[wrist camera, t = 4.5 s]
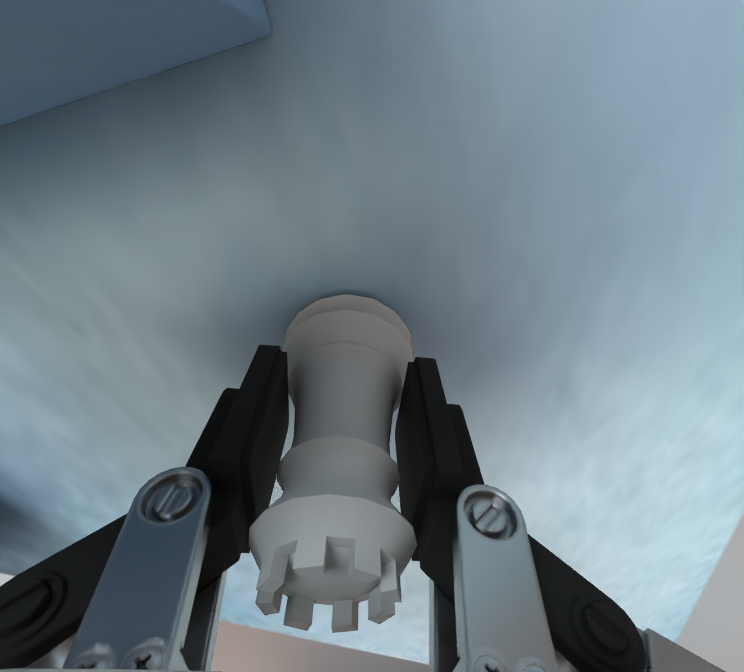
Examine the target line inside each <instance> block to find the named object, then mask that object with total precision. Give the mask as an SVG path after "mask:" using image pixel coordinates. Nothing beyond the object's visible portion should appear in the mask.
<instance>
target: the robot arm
mask: <svg viewBox="0 0 744 672" xmlns="http://www.w3.org/2000/svg"><path fill="white" fill-rule="evenodd" d="M288 425H289V400H288V363H287V352H283V351H281V349H280V346H270V345H259V347H258V349H257V351H256V353H255V356H254V358H253V360H252V362H251V364H250V367H249V369H248V371H247V373H246V375H245V378H244V380H243V382H242V384H241V387H240V389H234V388H226V389H225V390H224V391H223V393H222V395H221V397H220V398H219V400H218V402H217V404H216V406H215V408H214V410H213V412H212V414H211V416H210V418H209V420H208V422H207V424H206V426H205V428H204V430H203V432H202V434H201V436H200V438H199V440H198V442H197V444H196V446H195V448H194V450H193V452H192V454H191V456H190V458H189V460H188V462H187V464H186V466H185V467H178V468H172V469H169V470H167V471H164V472H162V473H159V474H158V475H156V476H155V477H153V478H152V479H150V480H149V481H148V482H147V483H146V484H145V485H144V486H143V487H142V488H141V489H140V490H139V492H138V493H137V495H136V497H135V498H134V500H133V503H132V505H131V507H130V510H129V512H128V513H127V514H126V515H124V516H122V517H120V518H118V519H117V520H115V521H113V522H111V523H110V524H108V525H106V526H104V527H102V528H101V529H99V530H97V531H95V532H93V533H92V534H90V535H88V536H86V537H85V538H83V539H81V540H79V541H77V542H76V543H74V544H72V545H70V546H68V547H67V548H65V549H63V550H61V551H60V552H58V553H56V554H54V555H52V556H51V557H49V558H47V559H45V560H44V561H42V562H40V563H38V564H36V565H35V566H33V567H31V568H29V569H27V570H26V571H24V572H22V573H20V574H19V575H17V576H15V577H14V578H12V579H11V580H10V581H8V582H6V583H5V584H3V585H2V586H1V587H0V672H217V671H211V665H212V659H213V653H214V647H215V641H216V635H217V629H218V623H219V617H220V611H221V605H222V599H223V593H224V587H225V581H226V575H227V569H228V568H229V567H231V566H232V565H233V564H235V563H236V562H237V561H239V558H240V555H241V553H249V552H250V548H249V528H250V527H251V525H252V524H253V523H254V522H255V521H256V520H257V518H258V517H259V516H260V515H261V514H262V513H263V512H264V511H265V510H266V509H267V508H268V507H269V504H270V500H271V496H272V492H273V487H274V483H275V479H276V475H277V471H278V463H279V462H280V459H281V455H282V451H283V447H284V443H285V439H286V435H287V431H288ZM395 441H396V454H397V467H398V472H399V476H400V481H399V494H400V508H401V514H402V516H403V517H404V518H405V519H406V520H407V521H408V522H409V523H410V524H411V525H412V527H413V530H414V534H415V538H416V542H417V547H416V549H415V551H414V553H413V555H412V561H420V569H421V570H422V571H423V572H424V573H425V574H426V575H427V576H428V577H429V578H430V582H429V672H725V671H724V670H722V669H720V668H718V667H716V666H715V665H713V664H711V663H709V662H707V661H706V660H704V659H702V658H700V657H699V656H697V655H695V654H693V653H692V652H690V651H688V650H686V649H684V648H683V647H681V646H679V645H677V644H676V643H674V642H672V641H670V640H669V639H667V638H665V637H663V636H661V635H660V634H658V633H656V632H654V631H653V630H651V629H649V628H647V629H646V630H645V631H642V630H640V629H639V628H637V627H636V626H635V624H634V623H633V622H632V620H631V619H630V618H629V616H628V615H627V614H626V612H625V611H624V610H623V609H622V608H621V607H619V606H618V605H617V604H616V603H615V602H614V601H613V600H612V599H611V598H609V597H608V596H607V595H605V594H604V593H603V592H602V591H600V590H599V589H598V588H596V587H595V586H594V585H593V584H591V583H590V582H589V581H587V580H586V579H585V578H584V577H582V576H581V575H580V574H579V573H577V572H576V571H575V570H573V569H572V568H571V567H570V566H568V565H567V564H566V563H564V562H563V561H562V560H561V559H559V558H558V557H557V556H556V555H554V554H553V553H552V552H550V551H549V550H548V549H547V548H545V547H544V546H543V545H541V544H540V543H539V542H538V541H536V540H535V539H534V538H532V537H531V536H530V535H529V534H527V530H526V525H525V521H524V518H523V515H522V513H521V510H520V509H519V507H518V506H517V504H516V503H515V502H514V500H512V499H511V498H510V497H509V496H508V495H507V494H506V493H504V492H502V491H501V490H499V489H497V488H495V487H492V486H488V485H484V482H483V478H482V475H481V472H480V468H479V465H478V462H477V458H476V455H475V452H474V448H473V445H472V441H471V438H470V435H469V431H468V428H467V425H466V421H465V418H464V415H463V411H462V409H461V407H460V406H459V405H456V404H447V402H446V398H445V394H444V390H443V387H442V383H441V379H440V375H439V371H438V367H437V363H436V360H435V359H434V358H422V357H416V358H415V361H414V362H410V361H409V362H408V365H407V370H406V375H405V380H404V386H403V391H402V396H401V401H400V407H399V412H398V417H397V422H396V429H395Z"/></svg>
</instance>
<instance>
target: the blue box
mask: <svg viewBox="0 0 744 672" xmlns="http://www.w3.org/2000/svg"><path fill="white" fill-rule="evenodd" d="M271 33H272V28H271V25H270V21H269V18H268V15H267V12H266V8H265V5H264V2H263V0H0V126H1V125H4V124H7V123H10V122H13V121H16V120H19V119H22V118H25V117H28V116H31V115H34V114H37V113H40V112H43V111H46V110H49V109H52V108H55V107H58V106H61V105H64V104H67V103H70V102H73V101H76V100H79V99H82V98H84V97H87V96H90V95H93V94H96V93H99V92H102V91H105V90H108V89H111V88H114V87H117V86H120V85H123V84H126V83H129V82H132V81H135V80H138V79H141V78H144V77H147V76H150V75H153V74H156V73H159V72H162V71H165V70H168V69H171V68H174V67H177V66H180V65H182V64H185V63H188V62H191V61H194V60H197V59H200V58H203V57H206V56H209V55H212V54H215V53H218V52H221V51H224V50H227V49H230V48H233V47H236V46H239V45H242V44H245V43H248V42H251V41H254V40H257V39H260V38H263V37H266V36H269V35H270V34H271Z"/></svg>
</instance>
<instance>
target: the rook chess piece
mask: <svg viewBox="0 0 744 672" xmlns="http://www.w3.org/2000/svg"><path fill="white" fill-rule="evenodd" d="M282 351H283V352H287V363H288V393H289V395H290V397H291V400H292V402H293V404H294V407H295V423H294V438H293V443H292V447H291V449H290V450H289V451H288V452H287V453H286V455H285V456H284V457H283V458H282V460H281V461H280V462H279V463H278V471H277V481H278V483H279V485H280V486H281V488H282V490H283V494H282V496H281V497H280V498H279V499H278V500H277V501H276V502H274V503H273V504H272V505H271V506H269V507H268V508H267V509H266V510H265V511H264V512H263V513H262V514H261V515H260V516H259V517H258V518H257V520H256V521H255V522H254V523H253V524H252V525H251V527H250V528H249V548H250V550H251V552H252V554H253V556H254V559H255V561H256V563H257V565H258V567H259V569H260V575H259V580H258V584H257V588H256V590H258V593H257V598H256V602H255V603H256V605H257V606H258V607H259V608H260V610H261V611H262V612H263V613H264V615H269V614H274V613H279V611H280V605H281V600H282V594H284V595H286V596H287V597H288V600H287V606H286V612H285V618H284V624H283V625H286V626H290V627H294V628H298V629H302V630H306V631H307V630H308V629H309V627H310V626H311V624H312V615H313V606H314V603H315V604H327V605H333V615H332V632H333V633H335V632H346V631H357V630H358V603H359V602H362V601H366V600H368V620H371V621H373V622H375V623H378V624H381V623H382V622H384V621H385V620H387V619H389V618H390V617H392V616H393V615H395V605H394V602H401V587H400V575H401V574H402V572H403V571H404V569H405V567H406V566H407V564H408V563H409V561H410V559H411V557H412V555H413V553H414V551H415V549H416V547H417V542H416V538H415V534H414V530H413V527H412V525H411V524H410V523H409V522H408V521H407V520H406V519H405V518H404V517H403V516H402V514H401V513H400V512H399V511H398V510H397V509H396V508H395V507H394V506H393V505H392V503H391V497H392V496H393V495H394V493H395V491H396V489H397V486H398V483H399V481H400V476H399V472H398V467H397V463H396V462H395V461H394V460H393V459H392V458H391V457H390V448H389V442H390V433H391V424H392V415H393V412H394V411H395V410H396V409H397V408H398V406H399V403H400V400H401V396H402V391H403V386H404V380H405V375H406V370H407V365H408V362H409V361H410V362H413V358H412V356H413V353H414V352H413V346H412V340H411V334H410V331H409V329H408V328H407V326H406V325H405V324H404V322H403V321H402V319H401V318H400V317H399V315H398V314H397V312H395V311H393V310H392V309H390V308H388V307H387V306H385V305H383V304H382V303H380V302H378V301H377V300H375V299H372V298H367V297H361V296H356V295H350V294H343V295H338V296H332V297H327V298H321V299H318V300H317V301H315V302H314V303H312V304H311V305H309V306H307V307H306V308H304V309H303V310H301V311H299V312H298V313H297V315H296V316H295V318H294V319H293V321H292V323H291V324H290V326H289V327H288V329H287V330H286V334H285V344H284V346H283V348H282Z"/></svg>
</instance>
